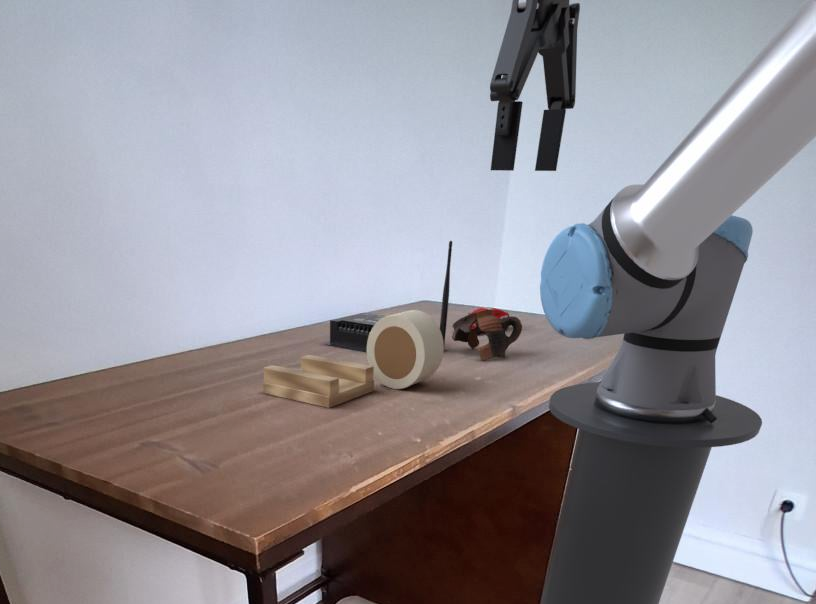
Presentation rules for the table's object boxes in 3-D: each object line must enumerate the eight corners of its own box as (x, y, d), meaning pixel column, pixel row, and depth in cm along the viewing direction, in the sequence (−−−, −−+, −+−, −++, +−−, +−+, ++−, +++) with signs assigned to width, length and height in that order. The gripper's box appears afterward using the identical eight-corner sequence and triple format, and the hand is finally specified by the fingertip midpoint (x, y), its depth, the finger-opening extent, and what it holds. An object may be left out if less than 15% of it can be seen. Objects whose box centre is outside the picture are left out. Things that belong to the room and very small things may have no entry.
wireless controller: (324, 344, 124) (323, 237, 114) (367, 332, 133) (370, 232, 123) (414, 360, 114) (423, 244, 104) (455, 346, 123) (466, 239, 113)
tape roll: (455, 359, 97) (423, 295, 96) (436, 366, 94) (402, 300, 92) (406, 393, 105) (376, 334, 103) (386, 401, 101) (355, 340, 99)
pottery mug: (466, 365, 114) (453, 316, 112) (455, 378, 123) (443, 332, 122) (534, 344, 113) (522, 294, 112) (517, 358, 123) (506, 312, 121)
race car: (469, 336, 131) (472, 314, 129) (449, 332, 135) (451, 310, 132) (513, 328, 138) (516, 307, 135) (493, 324, 141) (495, 303, 139)
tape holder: (373, 390, 98) (374, 366, 96) (329, 408, 91) (329, 381, 89) (310, 378, 104) (309, 354, 102) (263, 393, 97) (262, 367, 95)
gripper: (566, -37, 83) (535, 170, 96) (475, -89, 67) (452, 170, 79) (627, -46, 80) (587, 171, 92) (546, -103, 63) (510, 170, 76)
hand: (524, 171), depth 86 cm, fingers open, 13 cm apart
